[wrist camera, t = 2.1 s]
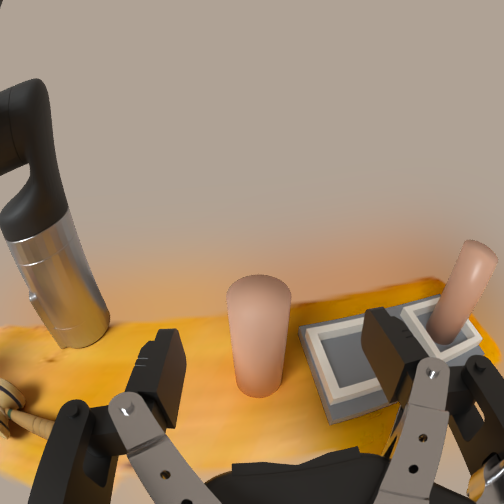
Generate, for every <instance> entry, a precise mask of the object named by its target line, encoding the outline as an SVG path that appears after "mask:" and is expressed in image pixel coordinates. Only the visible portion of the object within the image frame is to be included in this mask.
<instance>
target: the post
mask: <svg viewBox="0 0 504 504" xmlns="http://www.w3.org/2000/svg"><path fill="white" fill-rule="evenodd" d="M290 304H291V292H290V290H289V288H288V287H287V285H286V284H285V283H284V282H282V281H280V280H279V279H277V278H274V277H271V276H267V275H251V276H246V277H243V278H241V279H239V280H237V281H236V282H234V283H233V284H232V285H231V286H230V288H229V289H228V291H227V308H228V317H229V326H230V334H231V343H232V351H233V359H234V367H235V375H236V382H237V385H238V387H239V389H240V390H241V391H242V392H243V393H244V394H246V395H248V396H250V397H255V398H263V397H267V396H269V395H271V394H273V393H274V392H275V391H276V390H277V389H278V388H279V386H280V384H281V378H282V371H283V363H284V356H285V348H286V340H287V331H288V323H289V314H290Z"/></svg>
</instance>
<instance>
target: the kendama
mask: <svg viewBox="0 0 504 504" xmlns="http://www.w3.org/2000/svg"><path fill="white" fill-rule="evenodd" d="M25 402H26V400H25V398H24V396H23V395H22V393H21V392H20V391H19V390H18V389H17V388H16V387H15V386H13V385H12V384H11V383H9V382H8V381H6V380H4V379H2V378H0V436H1V437H2V438H5V439H8V438H9V436H10V431H9V428H8V420H10V419H11V420H12V421H14V422H15V423H17V424H18V425H20V426H21V427H23V428H25V429H27V430H28V431H30V432H32V433H34V434H36V435H38V436H40V437H42V438H44V439H47V440H48V438H49V435H50V433H51V430H52V428H53V425H54V423H55V421H51V420H48V419H44V418H41V417H38V416H35V415H32V414H28V413H25V412H21V411H17V409H22V408H23V407H24V405H25Z"/></svg>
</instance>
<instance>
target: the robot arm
mask: <svg viewBox="0 0 504 504" xmlns="http://www.w3.org/2000/svg"><path fill="white" fill-rule="evenodd" d="M2 1H3V0H0V6H1V4H2ZM28 163H29V165H30V177H29V179H28V181H27V183H26V184H25V185H24V187H23V188H22V189H21V190H20V192H19V193H18V194H17V195H16V196H15V197H14V198H13V199H11V200H10V202H8V203H7V205H6V206H5V207H4V208H3V209H2V211H1V213H0V228H1V230H2V233H3V235H4V238H5V240H6V242H7V245H8V247H9V250H10V252H11V254H12V256H13V258H14V260H15V262H16V265H17V267H18V269H19V271H20V273H21V275H22V277H23V279H24V281H25V282H26V285H27V286H28V288H29V299H30V302H31V304H32V305H33V307H34V309H35V310H36V312H37V313H38V315H39V317H40V318H41V320H42V321H43V323H44V325H45V326H46V328H47V329H48V331H49V332H50V334H51V335H52V337H53V338H54V339H55V341H56V342H57V344H58V345H59V346H60V348H61V349H63V348H66V347H71V348H82V347H86V346H88V345H91V344H93V343H94V342H96V341H97V340H98V339H99V338H100V337H102V335H103V334H104V333H105V332H106V330H107V328H108V326H109V323H110V314H109V311H108V309H107V307H106V304H105V302H104V299H103V298H102V296H101V293H100V291H99V289H98V286H97V284H96V282H95V279H94V277H93V275H92V272H91V270H90V267H89V265H88V262H87V259H86V257H85V254H84V252H83V249H82V246H81V243H80V240H79V238H78V235H77V232H76V229H75V226H74V223H73V219H72V216H71V213H70V210H69V206H68V203H67V200H66V196H65V193H64V189H63V185H62V182H61V178H60V173H59V169H58V165H57V160H56V153H55V147H54V140H53V130H52V119H51V110H50V102H49V96H48V92H47V89H46V86H45V84H44V83H43V82H42V80H40V79H31V80H28V81H25V82H22V83H20V84H17V85H15V86H13V87H10V88H8V89H6V90H4V91H1V92H0V176H1V175H3V174H5V173H7V172H10V171H12V170H14V169H16V168H18V167H21V166H23V165H25V164H28ZM361 346H362V350H363V352H364V354H365V356H366V358H367V360H368V362H369V364H370V366H371V367H372V369H373V371H374V373H375V375H376V377H377V379H378V382H379V384H380V386H381V388H382V390H383V392H384V394H385V396H386V398H387V400H388V402H389V404H390V403H394V402H397V401H399V403H400V408H399V410H398V413H397V416H396V419H395V422H394V425H393V427H392V430H391V433H390V435H389V438H388V441H387V443H386V445H385V447H384V449H383V451H382V453H381V455H376V454H370V453H360V452H359V449H358V446H356V447H352V448H348V449H344V450H339V451H335V452H330V453H327V454H324V455H322V456H320V457H317V458H315V459H312V460H310V461H307V462H305V463H302V464H299V465H288V464H277V463H268V462H256V463H236V464H232V471H229V472H226V473H223V474H220V475H218V476H215V477H213V478H211V479H210V480H208V481H207V482H205V483H203V482H202V481H201V479H200V478H199V477H198V476H197V475H196V473H195V472H194V471H193V470H192V468H191V467H190V466H189V465H188V463H187V462H186V461H185V459H184V458H183V457H182V456H181V454H180V453H179V452H178V450H177V449H176V447H175V446H174V445H173V443H172V442H171V441H170V439H169V438H168V436H167V435H166V434H165V433H166V428H172V429H175V427H176V422H177V416H178V410H179V404H180V399H181V393H182V388H183V383H184V378H185V372H186V356H185V352H184V349H183V346H182V342H181V339H180V336H179V332H178V330H177V329H159V330H158V333H157V335H156V338H155V341H148V342H147V343H146V344H145V345H144V346H143V347H142V348H141V350H140V353H139V355H138V359H137V360H136V363H135V366H134V368H133V371H132V373H131V376H130V378H129V381H128V384H127V386H126V389H125V392H123V393H120V394H118V395H116V396H115V397H114V398H113V399H112V400H111V401H110V403H109V405H107V406H101V407H94V408H89V406H88V405H87V404H86V403H85V402H84V401H82V400H77V399H76V400H71V401H68V402H67V403H65V404H64V405H63V406H62V407H61V409H60V411H59V413H58V415H57V418H56V420H55V423H54V425H53V428H52V430H51V433H50V435H49V438H48V441H47V443H46V446H45V449H44V452H43V455H42V457H41V460H40V463H39V466H38V469H37V473H36V476H35V479H34V482H33V486H32V489H31V493H30V497H29V500H28V504H110V502H111V495H112V489H113V483H114V477H115V472H116V466H117V461H118V456H119V455H124V454H127V457H128V459H129V461H130V463H131V465H132V467H133V468H134V470H135V472H136V474H137V475H138V477H139V479H140V481H141V482H142V484H143V485H144V487H145V489H146V490H147V492H148V493H149V495H150V497H151V498H152V500H153V501H154V503H155V504H504V379H503V377H502V376H501V375H500V373H499V372H498V370H497V369H496V368H495V366H494V365H493V364H492V362H491V361H490V360H489V359H488V358H486V357H485V356H482V355H472V356H470V357H469V358H468V359H467V361H466V363H465V365H464V366H448V365H447V364H446V363H445V362H444V361H443V360H441V359H439V358H436V357H429V355H428V354H427V352H426V351H425V350H424V348H423V347H422V346H421V344H420V343H419V342H418V340H417V339H416V338H415V337H414V336H413V334H412V332H411V331H409V328H408V327H407V326H406V324H405V323H404V322H403V321H402V320H400V319H398V318H397V317H395V316H390V315H389V313H388V312H387V311H386V310H385V308H384V307H378V308H372V309H367V310H366V311H365V315H364V322H363V328H362V334H361ZM475 402H477V403H478V405H479V407H480V408H481V410H482V412H483V413H484V417H485V421H483V419H482V417H481V415H480V414H479V412H478V410H477V408H476V407H475V405H474V403H475ZM448 424H449V427H450V429H451V431H452V433H453V435H454V437H455V439H456V442H457V444H458V446H459V448H460V450H461V453H462V455H463V457H464V460H465V462H466V465H467V467H468V470H469V472H470V475H471V478H470V481H469V485H468V489H467V492H466V493H467V496H468V497H469V498H468V497H465V496H463V495H461V494H458V493H456V492H454V491H451V490H449V489H447V488H445V487H443V486H441V485H438V484H436V483H434V479H435V476H436V472H437V469H438V465H439V461H440V457H441V454H442V449H443V445H444V440H445V435H446V431H447V425H448Z"/></svg>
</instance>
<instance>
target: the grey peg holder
mask: <svg viewBox="0 0 504 504" xmlns="http://www.w3.org/2000/svg"><path fill="white" fill-rule="evenodd" d="M497 263H498V258H497V256H496V254H495V253H494V252H493V251H492V250H491V249H490V248H489V247H487V246H486V245H484V244H482V243H480V242H478V241H475V240H466V241H465V242H464V244H463V246H462V249H461V251H460V254H459V256H458V259H457V261H456V264H455V266H454V268H453V271H452V273H451V275H450V278H449V280H448V282H447V284H446V286H445V288H444V290H443V293H442V295H440V294H438V295H435V296H431V297H428V298H424V299H420V300H417V301H413V302H409V303H405V304H402V305H398V306H394V307H390V308H386V309H385V310H386V311H387V312H388V313H389V315H390V316H395V317H397V318H398V319H400V320H402V321H403V322H404V323H405V324H406V326H407V327H408V328H409V331H411V332H412V334H413V336H414V337H415V338H416V339H417V340H418V342H419V343H420V344H421V346H422V347H423V348H424V350H425V351H426V352H427V354H428V355H429V357H436V358H439V359H441V360H443V361H444V362H445V363H446V364H447V365H448V366H464V365H465V363H466V361H467V359H468V358H469V357H470V356H472V355H482V356H483V355H484V352H483V351H482V349H481V348H480V346H479V345H478V344H479V343H480V342H481V340H482V339H483V338H482V337H481V335H480V334H479V333H478V331H477V330H476V329H475V327H474V326H473V325H472V323H471V322H470V321H469V319H468V318H469V316H470V314H471V313H472V311H473V309H474V308H475V306H476V304H477V302H478V301H479V299H480V297H481V295H482V293H483V291H484V290H485V288H486V286H487V284H488V282H489V280H490V278H491V276H492V274H493V272H494V270H495V268H496V265H497ZM364 315H365V313H364V314H360V315H355V316H350V317H346V318H341V319H336V320H331V321H326V322H320V323H315V324H309V325H304V326H299V330H298V336H299V339H300V341H301V344H302V347H303V350H304V353H305V356H306V358H307V361H308V364H309V367H310V370H311V373H312V376H313V378H314V381H315V384H316V387H317V390H318V393H319V396H320V399H321V402H322V404H323V407H324V410H325V413H326V416H327V419H328V422H329V425H333V424H336V423H339V422H343V421H346V420H349V419H352V418H356V417H359V416H362V415H365V414H367V413H370V412H373V411H376V410H379V409H381V408H384V407H386V406H389V405H392V404H394V403H397V402H399V401H397V402H394V403H390V404H389V402H388V400H387V398H386V396H385V394H384V392H383V390H382V388H381V386H380V384H379V382H378V379H377V377H376V375H375V373H374V371H373V369H372V367H371V366H370V364H369V362H368V360H367V358H366V356H365V354H364V352H363V350H362V346H361V334H362V328H363V322H364Z"/></svg>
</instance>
